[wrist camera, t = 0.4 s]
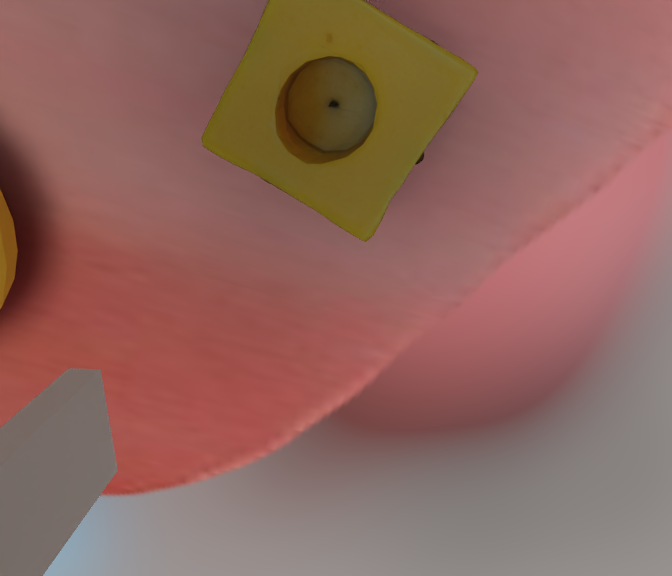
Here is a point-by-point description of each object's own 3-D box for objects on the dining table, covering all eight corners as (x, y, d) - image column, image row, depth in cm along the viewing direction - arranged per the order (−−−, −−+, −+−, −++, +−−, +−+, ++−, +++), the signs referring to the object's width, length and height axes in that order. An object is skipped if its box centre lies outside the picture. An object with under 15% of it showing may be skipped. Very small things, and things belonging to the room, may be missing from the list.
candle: (462, 73, 35) (489, 67, 26) (375, 211, 38) (372, 250, 29) (320, -19, 34) (294, -59, 25) (243, 131, 38) (195, 145, 28)
